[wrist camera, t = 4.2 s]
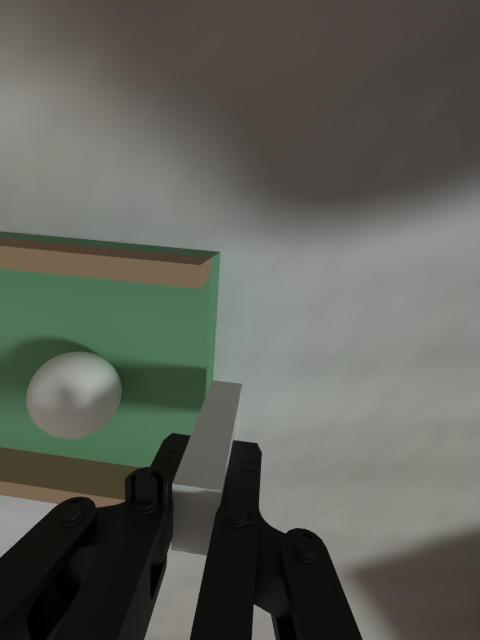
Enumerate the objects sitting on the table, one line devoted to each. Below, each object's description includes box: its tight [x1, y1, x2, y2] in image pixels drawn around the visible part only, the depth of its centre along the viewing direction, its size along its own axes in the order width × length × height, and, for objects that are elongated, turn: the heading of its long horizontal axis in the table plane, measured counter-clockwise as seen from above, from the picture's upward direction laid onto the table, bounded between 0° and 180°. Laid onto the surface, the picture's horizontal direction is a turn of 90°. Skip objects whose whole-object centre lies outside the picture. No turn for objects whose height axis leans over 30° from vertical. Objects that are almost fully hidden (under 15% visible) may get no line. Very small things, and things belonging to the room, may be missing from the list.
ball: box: [26, 351, 122, 439], centre depth 16 cm, size 4×4×4 cm
